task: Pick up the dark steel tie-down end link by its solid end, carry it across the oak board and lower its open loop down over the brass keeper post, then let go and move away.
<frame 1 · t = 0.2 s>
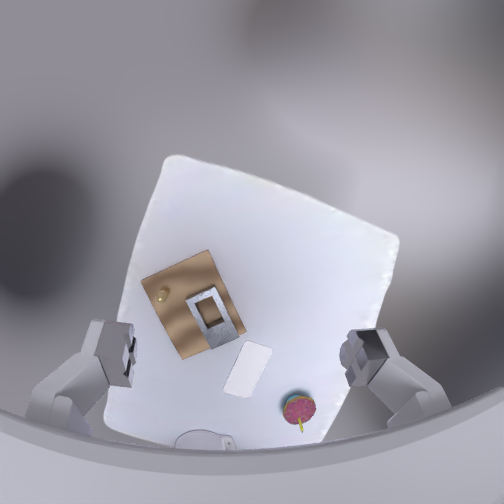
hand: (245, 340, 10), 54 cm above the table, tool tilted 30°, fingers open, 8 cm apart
cupcake: (294, 400, 71), on the table
steel link: (212, 314, 63), point 1 cm above the table, touching oak board
smartphone: (246, 369, 68), on the table
keeper post: (165, 290, 61), resting on oak board
oak board: (194, 306, 64), on the table
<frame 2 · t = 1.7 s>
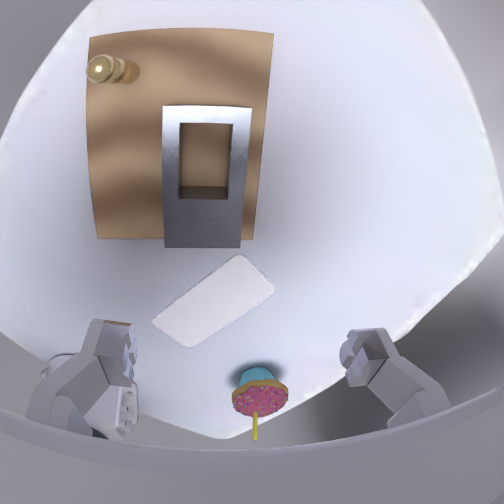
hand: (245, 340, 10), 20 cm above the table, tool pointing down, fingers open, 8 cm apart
cupcake: (255, 373, 45), on the table
steel link: (204, 170, 26), point 1 cm above the table, touching oak board
smartphone: (211, 302, 36), on the table
keeper post: (128, 73, 20), resting on oak board
oak board: (173, 134, 25), on the table
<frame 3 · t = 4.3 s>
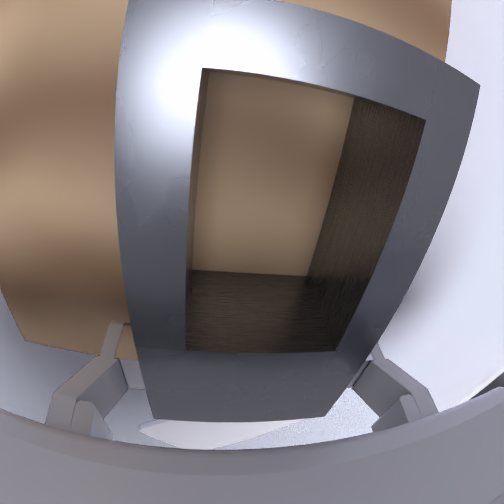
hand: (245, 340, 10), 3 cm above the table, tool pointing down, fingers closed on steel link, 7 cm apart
steel link: (258, 235, 9), point 2 cm above the table, touching gripper, oak board
smartphone: (232, 414, 20), on the table
oak board: (173, 123, 9), on the table
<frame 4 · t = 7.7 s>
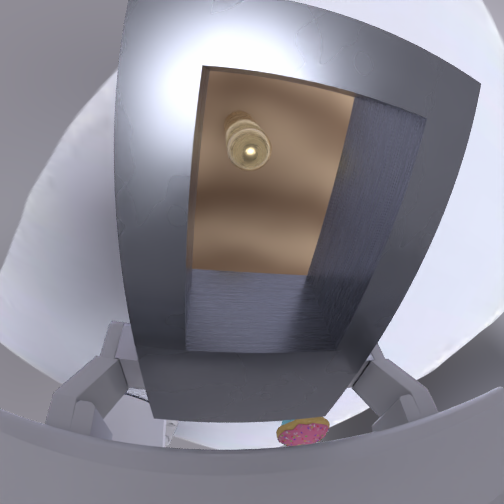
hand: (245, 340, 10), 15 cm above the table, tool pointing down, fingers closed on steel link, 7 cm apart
cupcake: (297, 407, 44), on the table
steel link: (258, 234, 9), point 14 cm above the table, touching gripper
keeper post: (239, 125, 19), resting on oak board
oak board: (277, 202, 24), on the table
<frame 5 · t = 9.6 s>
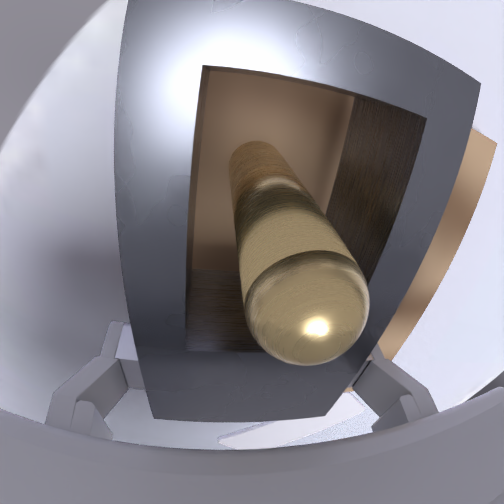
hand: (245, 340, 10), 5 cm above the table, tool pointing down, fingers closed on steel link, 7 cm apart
steel link: (258, 233, 9), point 4 cm above the table, touching gripper
smartphone: (290, 422, 27), on the table
keeper post: (256, 167, 10), resting on oak board
oak board: (309, 278, 16), on the table
when the fingers open (4 cm above the table, at t = 11.0 s): steel link drops 1 cm, resting on oak board.
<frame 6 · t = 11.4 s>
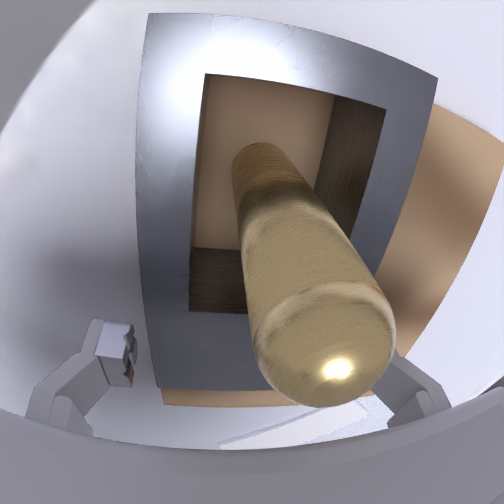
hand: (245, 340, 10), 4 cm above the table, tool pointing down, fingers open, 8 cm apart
steel link: (252, 215, 11), point 1 cm above the table, touching oak board
smartphone: (292, 428, 27), on the table
keeper post: (260, 171, 10), resting on oak board
oak board: (315, 286, 15), on the table
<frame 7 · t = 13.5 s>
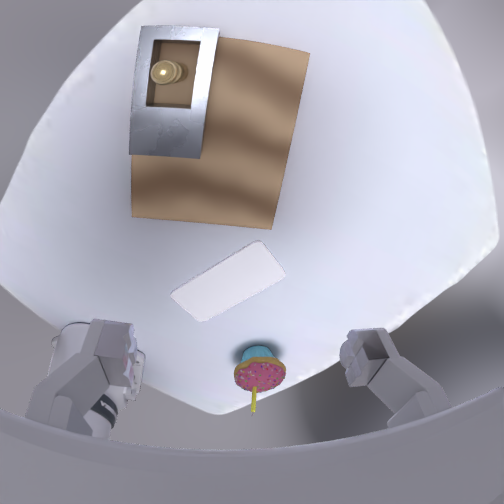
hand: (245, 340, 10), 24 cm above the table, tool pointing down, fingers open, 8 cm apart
cupcake: (256, 352, 50), on the table
steel link: (175, 89, 24), point 1 cm above the table, touching oak board
smartphone: (226, 282, 41), on the table
keeper post: (178, 72, 23), resting on oak board
oak board: (211, 131, 29), on the table
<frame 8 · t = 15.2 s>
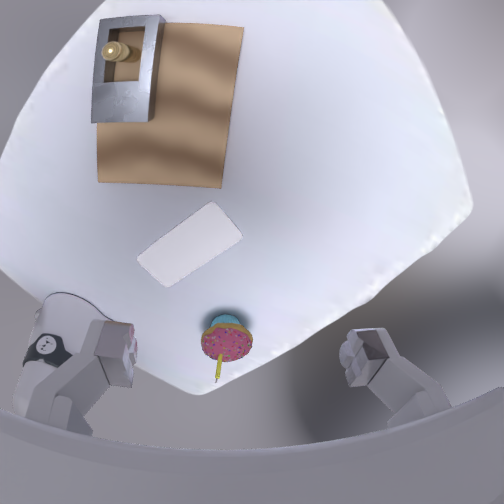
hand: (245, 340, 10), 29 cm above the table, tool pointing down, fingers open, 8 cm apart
cupcake: (225, 322, 51), on the table
steel link: (131, 68, 26), point 1 cm above the table, touching oak board
smartphone: (187, 245, 42), on the table
keeper post: (132, 55, 26), resting on oak board
oak board: (163, 103, 31), on the table
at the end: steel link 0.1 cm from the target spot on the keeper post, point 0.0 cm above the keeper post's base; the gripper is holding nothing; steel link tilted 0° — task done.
